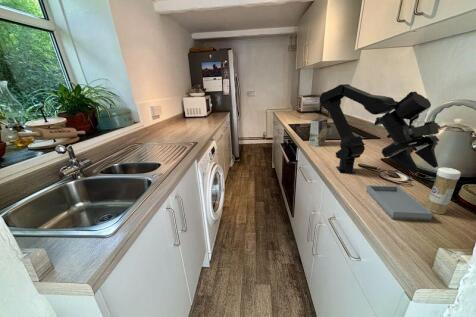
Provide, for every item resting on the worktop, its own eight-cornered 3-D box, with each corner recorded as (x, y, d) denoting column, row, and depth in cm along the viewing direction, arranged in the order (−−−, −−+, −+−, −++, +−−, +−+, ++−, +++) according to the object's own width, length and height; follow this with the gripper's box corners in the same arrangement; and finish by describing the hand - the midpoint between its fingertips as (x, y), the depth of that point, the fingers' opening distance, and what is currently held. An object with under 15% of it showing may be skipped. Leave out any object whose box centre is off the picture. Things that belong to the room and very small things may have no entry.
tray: (366, 191, 72) (367, 185, 71) (396, 192, 71) (397, 186, 70) (391, 219, 57) (393, 211, 57) (430, 220, 56) (433, 213, 55)
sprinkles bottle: (421, 206, 62) (433, 167, 58) (434, 205, 63) (448, 166, 58) (436, 215, 58) (451, 174, 53) (450, 214, 58) (466, 172, 54)
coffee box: (317, 146, 124) (320, 121, 119) (308, 144, 129) (310, 120, 123) (325, 143, 130) (327, 119, 124) (316, 142, 134) (318, 118, 129)
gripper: (400, 115, 57) (436, 163, 51) (440, 110, 63) (477, 152, 57) (369, 136, 67) (396, 179, 61) (406, 130, 72) (435, 168, 66)
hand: (426, 169), depth 61 cm, fingers open, 9 cm apart
